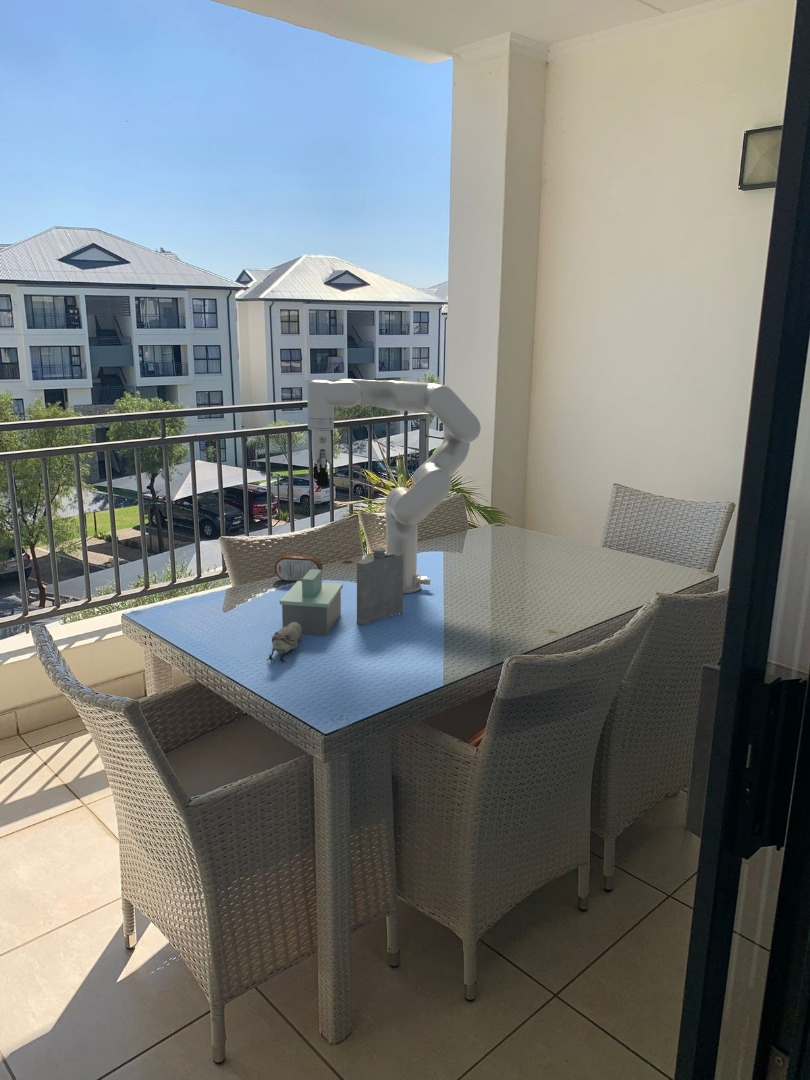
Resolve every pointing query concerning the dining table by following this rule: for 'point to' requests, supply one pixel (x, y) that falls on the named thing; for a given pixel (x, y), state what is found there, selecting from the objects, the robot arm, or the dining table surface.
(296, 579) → the tin
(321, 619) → the tub
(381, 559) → the hip flask
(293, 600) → the lid
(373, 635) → the dining table surface
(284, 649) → the decorative bird
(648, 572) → the dining table surface
